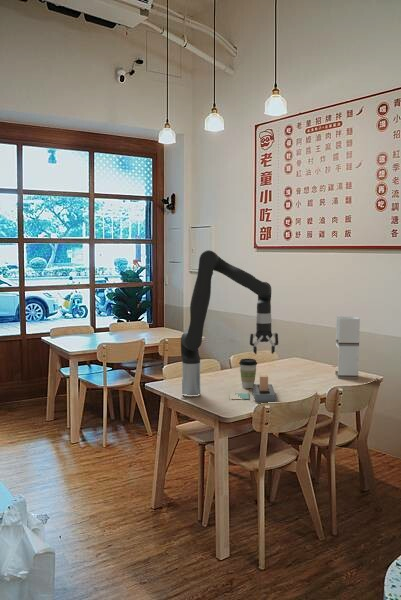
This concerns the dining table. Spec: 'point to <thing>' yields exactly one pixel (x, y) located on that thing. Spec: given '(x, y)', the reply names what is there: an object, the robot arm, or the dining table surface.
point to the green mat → (243, 395)
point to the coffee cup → (248, 372)
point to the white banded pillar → (347, 346)
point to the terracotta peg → (263, 382)
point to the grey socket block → (264, 394)
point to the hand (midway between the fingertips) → (264, 353)
